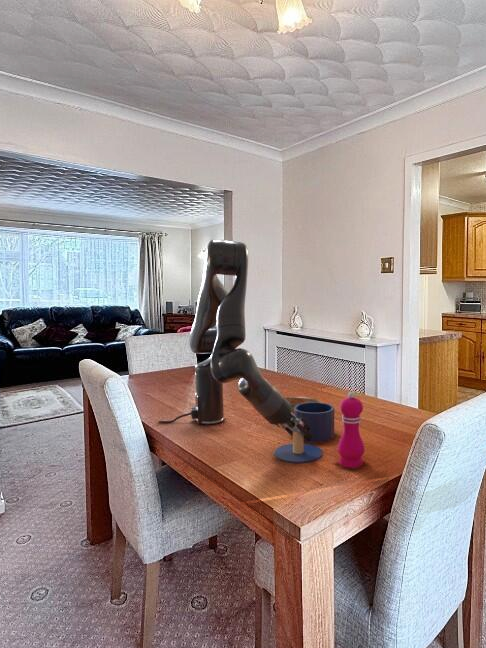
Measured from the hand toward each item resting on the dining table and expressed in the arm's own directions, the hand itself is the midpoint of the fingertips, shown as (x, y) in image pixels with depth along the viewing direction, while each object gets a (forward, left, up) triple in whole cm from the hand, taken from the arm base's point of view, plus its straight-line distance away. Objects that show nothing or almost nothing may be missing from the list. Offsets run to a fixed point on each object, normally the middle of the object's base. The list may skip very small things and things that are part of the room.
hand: (302, 436), depth 129 cm
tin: (+10, +29, -5) cm, 32 cm away
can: (+8, +12, -5) cm, 16 cm away
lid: (-2, -1, -5) cm, 5 cm away
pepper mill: (+9, -12, -5) cm, 16 cm away
